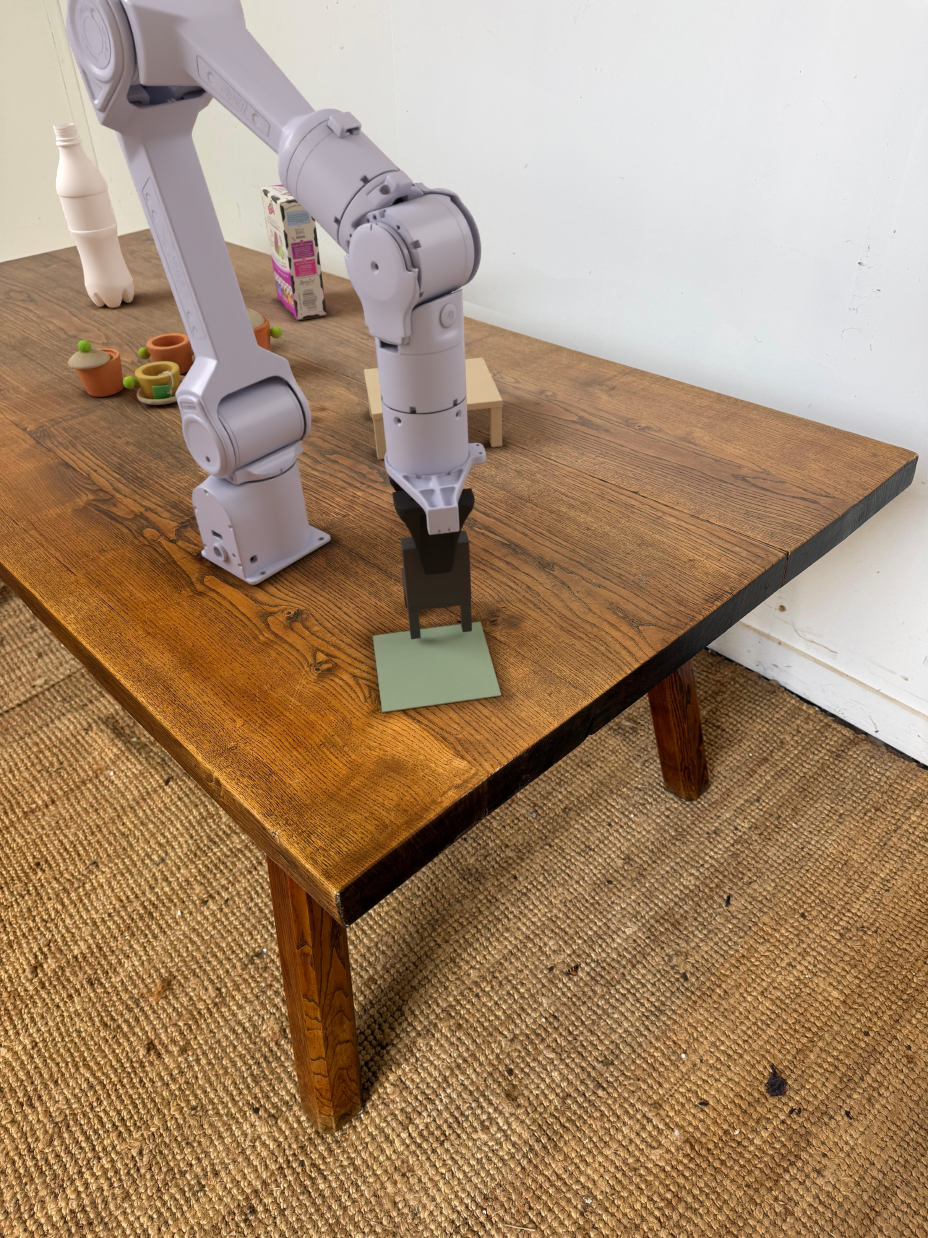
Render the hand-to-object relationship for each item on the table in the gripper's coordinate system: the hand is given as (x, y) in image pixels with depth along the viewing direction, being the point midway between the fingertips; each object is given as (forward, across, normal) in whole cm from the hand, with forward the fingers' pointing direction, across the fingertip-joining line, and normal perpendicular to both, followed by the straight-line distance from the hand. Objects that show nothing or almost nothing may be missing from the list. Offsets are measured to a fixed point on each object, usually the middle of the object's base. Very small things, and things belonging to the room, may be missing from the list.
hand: (435, 563), depth 67 cm
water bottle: (+8, +93, +39) cm, 101 cm away
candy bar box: (+8, +83, +10) cm, 84 cm away
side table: (+8, +37, -4) cm, 38 cm away
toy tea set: (+8, +59, +25) cm, 65 cm away
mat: (+8, -3, +1) cm, 8 cm away
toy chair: (+7, +2, 0) cm, 7 cm away
